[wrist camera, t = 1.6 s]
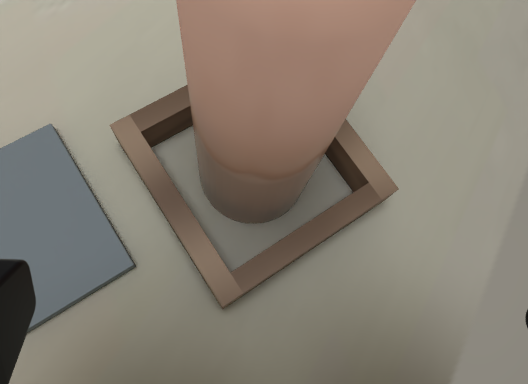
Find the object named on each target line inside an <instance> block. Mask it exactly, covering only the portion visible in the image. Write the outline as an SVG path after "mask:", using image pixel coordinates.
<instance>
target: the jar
mask: <svg viewBox="0 0 528 384" xmlns="http://www.w3.org/2000/svg"><path fill="white" fill-rule="evenodd" d="M176 1H177V9H178V16H179V24H180V31H181V39H182V46H183V54H184V61H185V69H186V76H187V84H188V91H189V99H190V106H191V114H192V121H193V129H194V136H195V144H196V151H197V159H198V166H199V174H200V181H201V185H202V188H203V191H204V193H205V195H206V197H207V199H208V200H209V202H210V203H211V204H212V205H213V206H214V207H215V208H216V209H217V210H218V211H219V212H220V213H222V214H223V215H225V216H227V217H228V218H231V219H233V220H235V221H239V222H243V223H264V222H268V221H271V220H274V219H276V218H278V217H280V216H282V215H283V214H284V213H286V212H287V211H288V210H289V209H290V208H291V207H292V206H293V205H294V204H295V202H296V201H297V199H298V198H299V196H300V194H301V193H302V191H303V189H304V188H305V186H306V184H307V183H308V181H309V179H310V178H311V176H312V174H313V173H314V171H315V169H316V167H317V166H318V164H319V162H320V161H321V159H322V157H323V156H324V154H325V152H326V151H327V149H328V147H329V146H330V144H331V142H332V141H333V139H334V137H335V136H336V134H337V132H338V131H339V129H340V127H341V126H342V124H343V122H344V121H345V119H346V117H347V115H348V114H349V112H350V110H351V109H352V107H353V105H354V104H355V102H356V100H357V99H358V97H359V95H360V94H361V92H362V90H363V89H364V87H365V85H366V84H367V82H368V80H369V79H370V77H371V75H372V74H373V72H374V70H375V69H376V67H377V65H378V63H379V62H380V60H381V58H382V57H383V55H384V53H385V52H386V50H387V48H388V47H389V45H390V43H391V42H392V40H393V38H394V37H395V35H396V33H397V32H398V30H399V28H400V27H401V25H402V23H403V22H404V20H405V18H406V17H407V15H408V13H409V12H410V10H411V8H412V6H413V5H414V3H415V1H416V0H176Z"/></svg>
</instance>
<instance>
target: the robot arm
mask: <svg viewBox="0 0 528 384" xmlns="http://www.w3.org/2000/svg"><path fill="white" fill-rule="evenodd" d="M35 307H36V296H35V291H34V286H33V281H32V276H31V271H30V267H29V265H28V263H27V262H26V261H25V260H22V259H0V384H9V381H10V378H11V376H12V373H13V370H14V367H15V364H16V362H17V359H18V356H19V353H20V351H21V348H22V345H23V342H24V340H25V337H26V334H27V331H28V329H29V326H30V323H31V320H32V318H33V315H34V312H35ZM526 325H527V328H528V310H527V312H526Z"/></svg>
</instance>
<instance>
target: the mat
mask: <svg viewBox="0 0 528 384" xmlns="http://www.w3.org/2000/svg"><path fill="white" fill-rule="evenodd" d="M0 259H22V260H25V261H26V262H27V263H28V265H29V267H30V271H31V276H32V281H33V286H34V291H35V296H36V307H35V312H34V315H33V318H32V320H31V323H30V326H29V329H28V331H27V333H28V332H30V331H31V330H33V329H35V328H36V327H38V326H39V325H41V324H43V323H44V322H46V321H48V320H49V319H51V318H53V317H54V316H56V315H58V314H59V313H61V312H62V311H64V310H66V309H67V308H69V307H71V306H72V305H74V304H76V303H77V302H79V301H80V300H82V299H84V298H85V297H87V296H89V295H90V294H92V293H94V292H95V291H97V290H98V289H100V288H102V287H103V286H105V285H107V284H108V283H110V282H112V281H113V280H115V279H116V278H118V277H120V276H121V275H123V274H125V273H126V272H128V271H130V270H131V269H133V268H135V267H136V265H135V264H134V262H133V260H132V259H131V257H130V255H129V254H128V252H127V250H126V248H125V247H124V245H123V243H122V242H121V240H120V238H119V237H118V235H117V233H116V231H115V230H114V228H113V226H112V225H111V223H110V221H109V220H108V218H107V216H106V214H105V213H104V211H103V209H102V208H101V206H100V204H99V203H98V201H97V199H96V197H95V196H94V194H93V192H92V191H91V189H90V187H89V186H88V184H87V182H86V180H85V179H84V177H83V175H82V174H81V172H80V170H79V169H78V167H77V165H76V163H75V162H74V160H73V158H72V157H71V155H70V153H69V152H68V150H67V148H66V146H65V145H64V143H63V141H62V140H61V138H60V136H59V135H58V133H57V131H56V129H55V128H54V127H53V126H52V124H49V125H47V126H45V127H43V128H41V129H39V130H37V131H35V132H33V133H31V134H29V135H27V136H24V137H22V138H20V139H18V140H16V141H14V142H12V143H10V144H8V145H6V146H4V147H2V148H0Z"/></svg>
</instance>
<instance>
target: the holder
mask: <svg viewBox="0 0 528 384" xmlns="http://www.w3.org/2000/svg"><path fill="white" fill-rule="evenodd" d="M191 125H193V121H192V114H191V106H190V99H189V91H188V85H186V86H184V87H182V88H180V89H178V90H177V91H175V92H173V93H171V94H169V95H167V96H165V97H163V98H161V99H159V100H157V101H155V102H153V103H151V104H149V105H147V106H146V107H144V108H142V109H140V110H138V111H136V112H134V113H132V114H130V115H128V116H126V117H124V118H122V119H120V120H118V121H116V122H114V123H113V124H111V125H110V127H111V129H112V131H113V132H114V134H115V136H116V138H117V140H118V142H119V143H120V145H121V147H122V148H123V150H124V151H125V153H126V155H127V156H128V158H129V160H130V161H131V163H132V164H133V166H134V168H135V169H136V171H137V172H138V174H139V176H140V177H141V179H142V181H143V182H144V184H145V185H146V187H147V189H148V190H149V192H150V193H151V195H152V197H153V198H154V200H155V201H156V203H157V205H158V206H159V208H160V210H161V211H162V213H163V214H164V216H165V218H166V219H167V221H168V222H169V224H170V226H171V227H172V229H173V231H174V232H175V234H176V235H177V237H178V239H179V240H180V242H181V243H182V245H183V247H184V248H185V250H186V251H187V253H188V255H189V256H190V258H191V260H192V261H193V263H194V264H195V266H196V268H197V269H198V271H199V272H200V274H201V276H202V277H203V279H204V280H205V282H206V284H207V285H208V287H209V289H210V290H211V292H212V293H213V295H214V297H215V298H216V300H217V301H218V303H219V305H220V306H221V308H222V309H224V308H225V307H227V306H228V305H230V304H231V303H233V302H234V301H236V300H237V299H239V298H240V297H242V296H243V295H245V294H246V293H248V292H249V291H251V290H252V289H254V288H255V287H256V286H258V285H259V284H261V283H262V282H264V281H265V280H267V279H268V278H270V277H271V276H273V275H274V274H276V273H277V272H279V271H280V270H282V269H283V268H285V267H286V266H288V265H289V264H291V263H292V262H294V261H295V260H297V259H298V258H300V257H301V256H303V255H304V254H306V253H307V252H309V251H310V250H312V249H313V248H314V247H316V246H317V245H319V244H320V243H322V242H323V241H325V240H326V239H328V238H329V237H331V236H332V235H334V234H335V233H337V232H338V231H340V230H341V229H343V228H344V227H346V226H347V225H349V224H350V223H352V222H353V221H355V220H356V219H358V218H359V217H361V216H362V215H364V214H365V213H367V212H368V211H370V210H371V209H373V208H374V207H375V206H377V205H378V204H380V203H381V202H383V201H384V200H386V199H387V198H388V197H389V196H391V195H392V194H393V193H394V192H396V191H397V190H398V187H397V186H396V185H395V183H394V182H393V181H392V179H391V178H390V177H389V175H388V174H387V173H386V171H385V170H384V169H383V167H382V166H381V165H380V164H379V162H378V161H377V160H376V158H375V157H374V156H373V154H372V153H371V152H370V150H369V149H368V148H367V146H366V145H365V144H364V142H363V141H362V140H361V139H360V137H359V136H358V135H357V133H356V132H355V131H354V129H353V128H352V127H351V125H350V124H349V123H348V121H347V120H346V119H345V121H344V122H343V124H342V126H341V127H340V129H339V131H338V132H337V134H336V136H335V137H334V139H333V141H332V142H331V144H330V146H329V147H328V149H327V151H326V152H325V153H326V155H327V156H328V157H329V159H330V160H331V162H332V163H333V164H334V166H335V167H336V168H337V170H338V171H339V172H340V174H341V175H342V177H343V178H344V179H345V181H346V182H347V183H348V185H349V186H350V187H351V189H352V190H353V192H354V193H352V194H350V195H349V196H347V197H346V198H344V199H343V200H341V201H340V202H338V203H337V204H335V205H334V206H332V207H331V208H329V209H327V210H326V211H324V212H323V213H321V214H320V215H318V216H317V217H315V218H314V219H312V220H311V221H309V222H308V223H306V224H304V225H303V226H301V227H300V228H298V229H297V230H295V231H294V232H292V233H291V234H289V235H288V236H286V237H285V238H283V239H281V240H280V241H278V242H277V243H275V244H274V245H272V246H271V247H269V248H268V249H266V250H265V251H263V252H262V253H260V254H258V255H257V256H255V257H254V258H252V259H251V260H249V261H248V262H246V263H245V264H243V265H242V266H240V267H239V268H237V269H235V270H234V271H232V272H231V273H230V272H229V270H228V269H227V267H226V265H225V264H224V262H223V261H222V259H221V258H220V256H219V254H218V253H217V251H216V250H215V248H214V247H213V245H212V243H211V242H210V240H209V239H208V237H207V236H206V234H205V232H204V231H203V229H202V228H201V226H200V225H199V223H198V221H197V220H196V218H195V217H194V215H193V214H192V212H191V210H190V209H189V207H188V206H187V204H186V203H185V201H184V199H183V198H182V196H181V195H180V193H179V192H178V190H177V188H176V187H175V185H174V184H173V182H172V181H171V179H170V177H169V176H168V174H167V173H166V171H165V170H164V168H163V166H162V165H161V163H160V162H159V160H158V159H157V157H156V155H155V154H154V152H153V151H152V149H151V147H153V146H154V145H156V144H158V143H160V142H162V141H164V140H165V139H167V138H169V137H171V136H173V135H175V134H177V133H178V132H180V131H182V130H184V129H186V128H188V127H189V126H191Z"/></svg>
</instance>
